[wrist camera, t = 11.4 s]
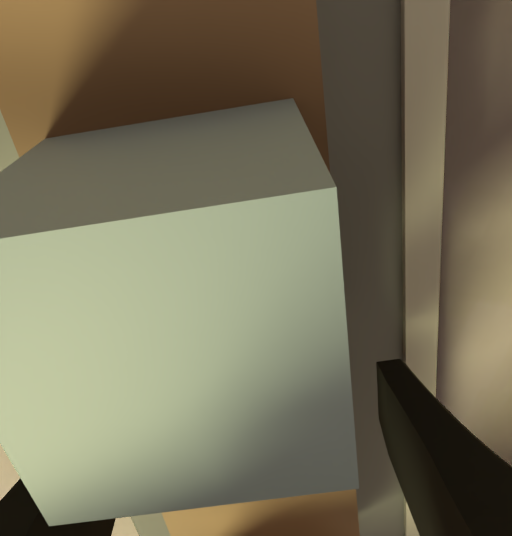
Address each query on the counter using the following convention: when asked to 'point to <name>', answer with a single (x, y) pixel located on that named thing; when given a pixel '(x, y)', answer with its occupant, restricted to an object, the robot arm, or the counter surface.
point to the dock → (378, 212)
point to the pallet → (163, 107)
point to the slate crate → (174, 317)
